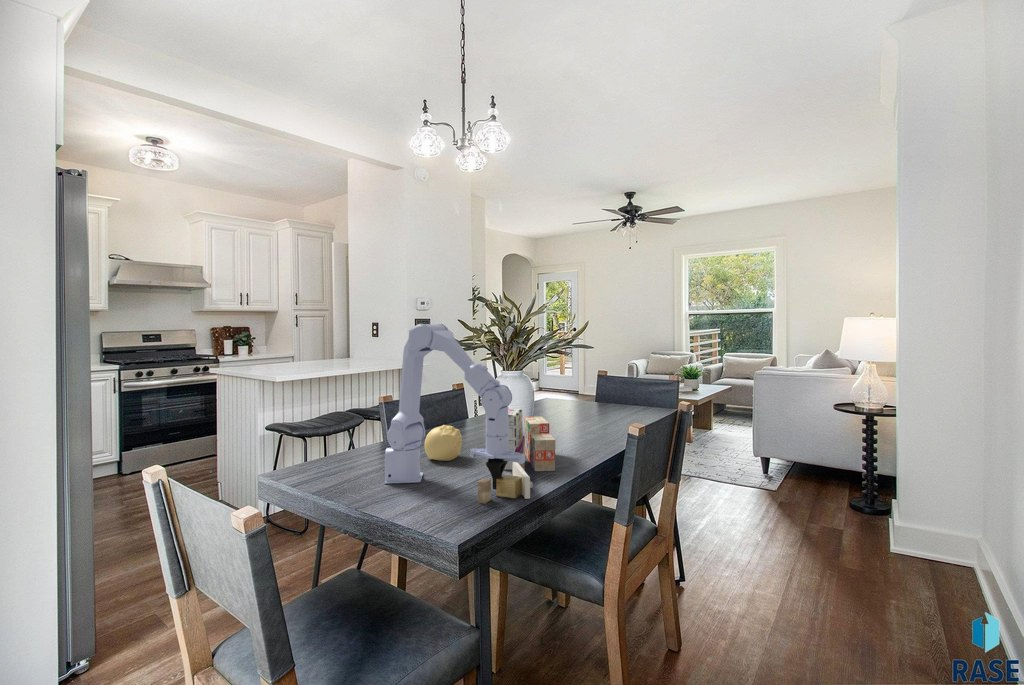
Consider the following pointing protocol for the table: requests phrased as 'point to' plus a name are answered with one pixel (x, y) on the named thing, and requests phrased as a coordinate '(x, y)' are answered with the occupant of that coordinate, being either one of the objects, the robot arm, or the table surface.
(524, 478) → the door
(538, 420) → the stack of blocks
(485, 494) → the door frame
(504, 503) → the table surface
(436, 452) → the yellow round lump
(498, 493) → the tan wooden block
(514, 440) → the candy bar box
